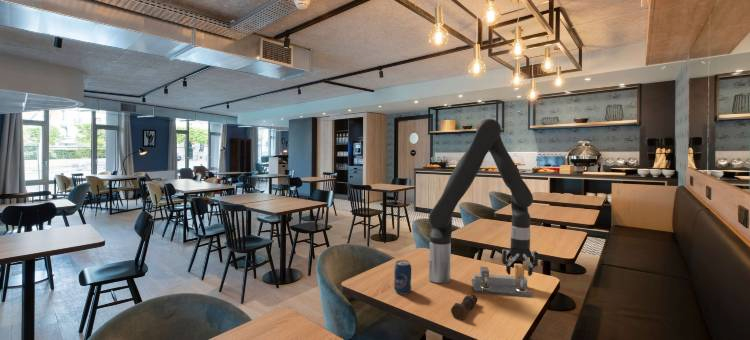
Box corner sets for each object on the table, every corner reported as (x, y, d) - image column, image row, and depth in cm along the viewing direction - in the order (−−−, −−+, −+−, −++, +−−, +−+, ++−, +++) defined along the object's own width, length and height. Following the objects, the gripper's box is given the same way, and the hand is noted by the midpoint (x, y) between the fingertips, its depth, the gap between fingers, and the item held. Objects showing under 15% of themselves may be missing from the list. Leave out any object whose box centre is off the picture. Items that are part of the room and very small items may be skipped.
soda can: (391, 293, 138) (392, 264, 137) (397, 286, 144) (397, 258, 143) (408, 296, 135) (408, 266, 134) (413, 289, 142) (413, 261, 141)
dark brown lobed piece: (475, 308, 129) (459, 323, 117) (464, 298, 132) (448, 312, 120) (483, 297, 127) (468, 312, 115) (472, 288, 130) (456, 301, 118)
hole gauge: (474, 292, 138) (474, 275, 138) (471, 280, 150) (472, 265, 150) (531, 297, 134) (532, 280, 134) (524, 284, 146) (524, 268, 146)
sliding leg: (517, 287, 139) (518, 270, 138) (513, 279, 146) (514, 263, 146) (525, 288, 138) (526, 270, 137) (521, 280, 146) (521, 263, 145)
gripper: (504, 238, 140) (502, 276, 141) (541, 240, 137) (539, 279, 138) (500, 233, 147) (499, 270, 148) (536, 235, 144) (534, 272, 146)
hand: (519, 274), depth 143 cm, fingers open, 7 cm apart
